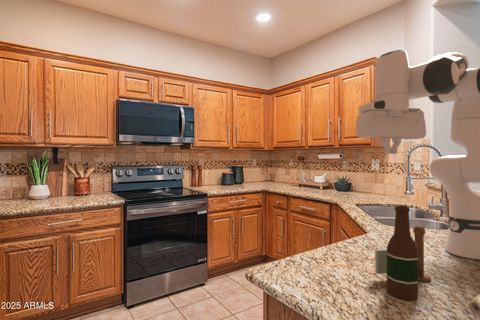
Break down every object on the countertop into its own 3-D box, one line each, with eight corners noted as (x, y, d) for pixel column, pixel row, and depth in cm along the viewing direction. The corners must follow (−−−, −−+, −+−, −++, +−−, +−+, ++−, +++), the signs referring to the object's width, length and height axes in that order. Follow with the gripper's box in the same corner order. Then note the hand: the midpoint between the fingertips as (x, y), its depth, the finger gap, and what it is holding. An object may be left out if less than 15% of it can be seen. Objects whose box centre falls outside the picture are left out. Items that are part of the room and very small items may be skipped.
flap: (411, 270, 85) (411, 248, 85) (414, 272, 84) (414, 249, 84) (375, 272, 84) (375, 249, 84) (377, 273, 82) (377, 250, 83)
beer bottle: (424, 303, 69) (424, 209, 69) (391, 300, 71) (391, 207, 71) (412, 289, 77) (411, 204, 77) (382, 286, 78) (382, 203, 78)
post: (420, 273, 88) (420, 223, 88) (435, 281, 82) (435, 227, 82) (403, 274, 87) (403, 223, 87) (418, 282, 81) (417, 228, 81)
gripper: (415, 110, 84) (414, 154, 84) (353, 107, 81) (352, 153, 81) (432, 106, 78) (431, 154, 77) (365, 102, 75) (364, 152, 75)
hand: (390, 153), depth 79 cm, fingers closed
